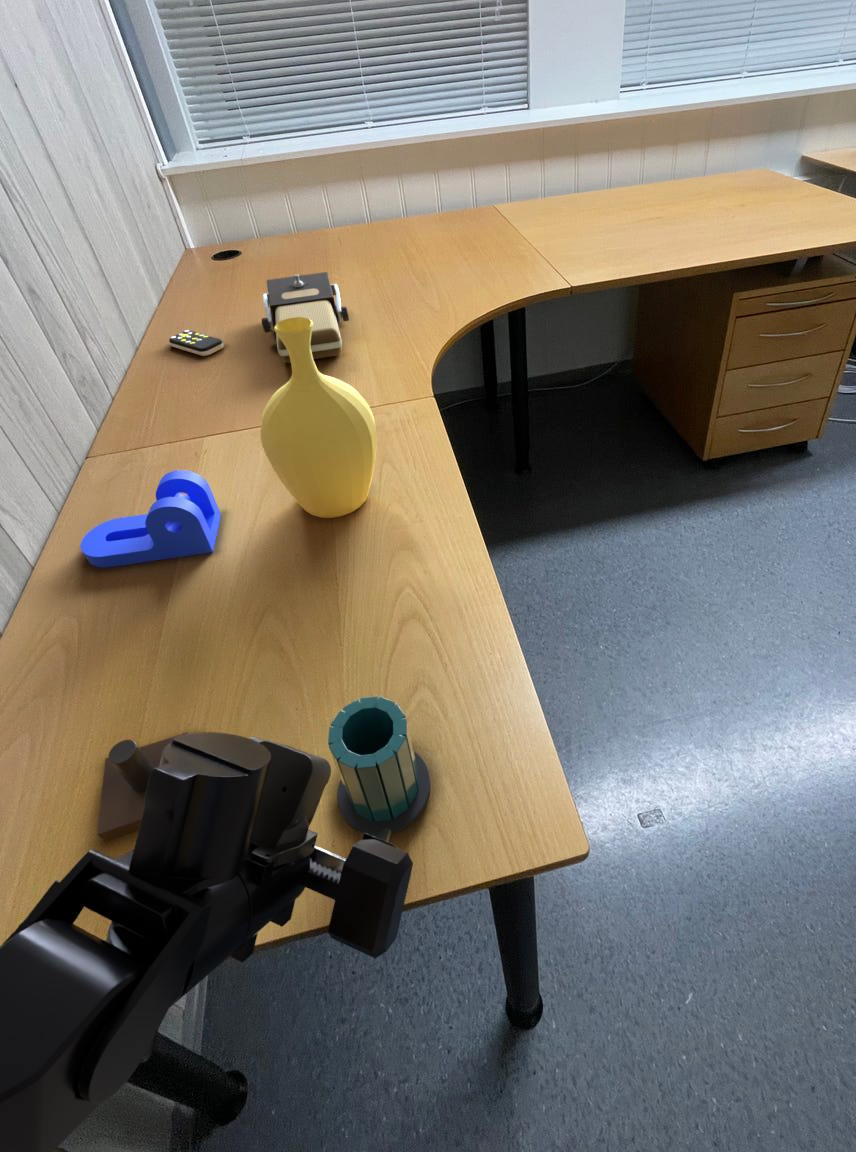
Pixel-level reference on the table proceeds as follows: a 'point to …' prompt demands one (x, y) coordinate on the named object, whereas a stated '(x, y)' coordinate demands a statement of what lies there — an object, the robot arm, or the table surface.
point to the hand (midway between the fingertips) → (339, 815)
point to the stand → (126, 786)
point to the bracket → (159, 526)
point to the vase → (318, 432)
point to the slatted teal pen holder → (374, 757)
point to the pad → (393, 824)
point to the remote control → (196, 343)
